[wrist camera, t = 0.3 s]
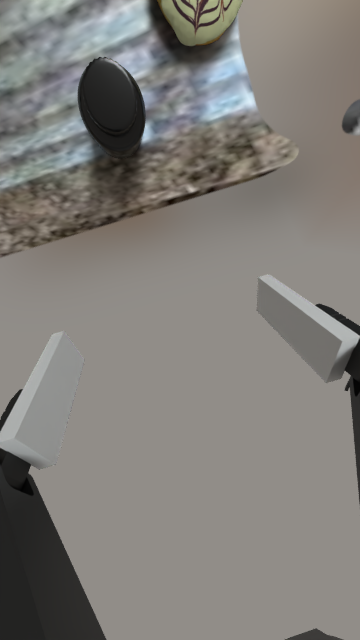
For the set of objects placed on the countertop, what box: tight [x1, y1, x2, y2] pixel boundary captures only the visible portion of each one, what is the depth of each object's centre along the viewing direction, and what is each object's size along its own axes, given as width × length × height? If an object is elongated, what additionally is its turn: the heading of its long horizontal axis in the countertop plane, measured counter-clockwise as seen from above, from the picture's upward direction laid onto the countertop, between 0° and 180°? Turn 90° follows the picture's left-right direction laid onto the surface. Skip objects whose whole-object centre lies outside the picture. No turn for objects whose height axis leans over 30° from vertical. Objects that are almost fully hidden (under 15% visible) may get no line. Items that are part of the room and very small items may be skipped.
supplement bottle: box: [78, 57, 146, 159], centre depth 23 cm, size 7×7×12 cm
